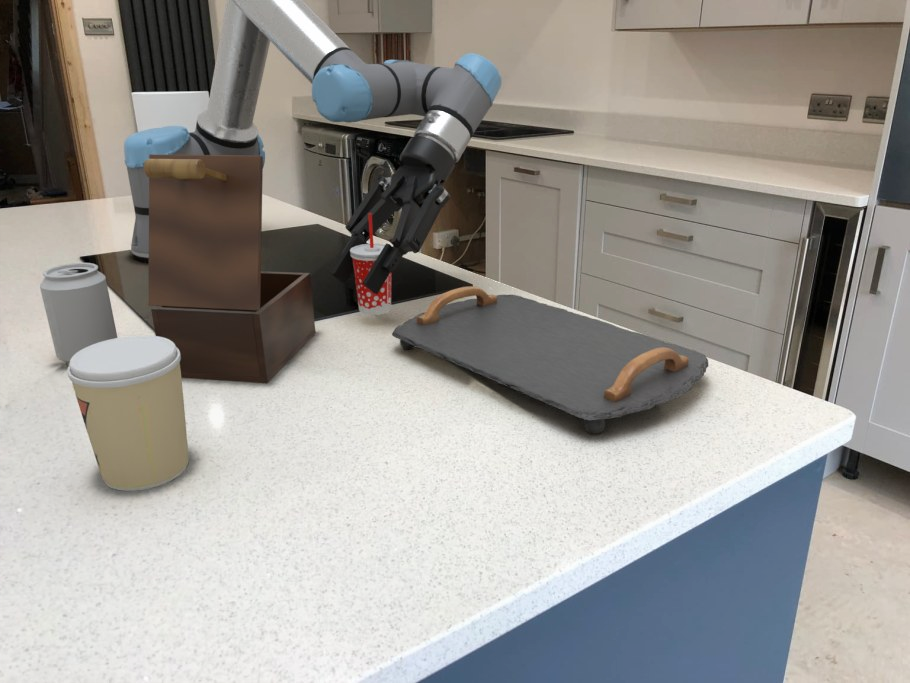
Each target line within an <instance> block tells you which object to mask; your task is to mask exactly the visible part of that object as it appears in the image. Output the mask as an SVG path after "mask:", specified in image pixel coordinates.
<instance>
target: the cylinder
mask: <svg viewBox="0 0 910 683" xmlns="http://www.w3.org/2000/svg"><path fill="white" fill-rule="evenodd" d="M130 95H131V100H132V106H133V111H134V118H135V123H136V129H137V132H140V131H144V130H148V129H153V128H162V127H167V126H182V127H185V128H186V129H187V130H188V132H189V133H190V132H194V131H195V129H196V123H197V118H198V115H199V114H200V113H201V112H203V111H205V110H207V109H208V103H209V98H210V92H209V91H208V90H203V91H202V90H200V91H199V90H198V91H196V90H195V91H134V92H131V94H130Z"/></svg>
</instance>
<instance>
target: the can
mask: <svg viewBox="0 0 910 683" xmlns="http://www.w3.org/2000/svg"><path fill="white" fill-rule="evenodd" d="M98 269H99V265H98V264H95V263H91V262H72V263H65V264H60V265H55V266H52V267H49V268H47V269H46V270H44V271H43V272H42V276H43V277H44V278H43V279H42V281H41V283H40V284H39V289H40V293H41V298H42V301H43V305H44V310H45V314H46V318H47V322H48V327H49V331H50V335H51V336H50V337H51V339H52V343H53V349H54V352H55V357H56V358H57V359H58V360H60V361H63V362H65V364H67V365H69V363H70V360H71V358H72V357H73V356H74V355H75V354H76V353H77V352H79V351H80V350H82V349H84V348H86V347H88V346H90V345H93V344H96V343H99V342H102V341H106V340H110V339H115V338H119V336H118V333H117V327H116V323H115V318H114V311H113V308H112V302H111V296H110V293H109V288H108V283H107V277H106V275H105V274H104V273H102V272H101V271H99V270H98Z"/></svg>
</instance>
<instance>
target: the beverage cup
mask: <svg viewBox="0 0 910 683" xmlns="http://www.w3.org/2000/svg"><path fill="white" fill-rule="evenodd" d="M368 217H369V236H370V239H369V243H367V244H362V245H358V246H355V247H352V248H351V249H350V253H351V255H350V256H351V257H352V258H353V266H354V271H353V273H354V281H355V288H356V296H357V297H356V298H357V305H358V311H359V312H360V313H361V314H363V315H368V316H378V315H379V316H380V315H385V314H387V313H389V312H391V310H392V282H393V281H392V280H393V279H392V278H393V274H392V273H393V272H392V273H390V274H389V276H388V277H387V279H386V281H385V282H384V284H383V286H382V287H381V289H380V291H379V292H378V294H374V293H373V292H372V291H370V290H369V289H368V288H367V287H366V286H365V285H364V284H363V281H364V280H365V278H366V276H367V275H368V273H369V271H370V270H371V268H372V266H373V265H374V263H375V261H376V259H377V258H378V256H379V254H380V253H381V251H382V249H383V248H384V246H385V244H386V243H374V234H373V228H372V213H368Z"/></svg>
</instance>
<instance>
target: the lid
mask: <svg viewBox="0 0 910 683" xmlns="http://www.w3.org/2000/svg"><path fill="white" fill-rule="evenodd" d="M263 170H264V167H263V157H262V156H242V155H155V154H150V155H149V159H147V160H146V161H145V163H144V172H145V174H146V176H147V177H148V178H149V262H148V293H147V294H148V295H147V296H148V298H147V299H148V304H147V305H148V306H150V307H151V306H152V307H155V306H170V307H190V308H211V309H232V310H252V311H260V288H261V271H262V232H263V231H262V230H263V229H262V226H263V178H264V177H263V176H264V175H263V172H264V171H263Z"/></svg>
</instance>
